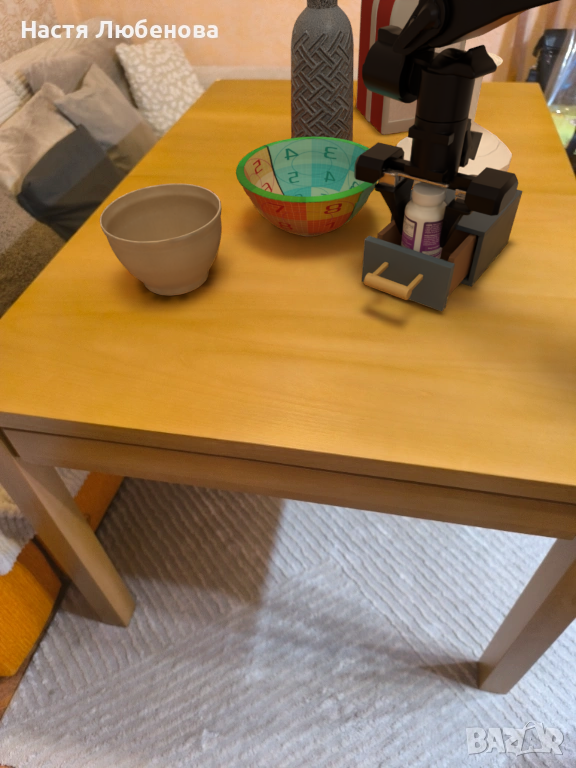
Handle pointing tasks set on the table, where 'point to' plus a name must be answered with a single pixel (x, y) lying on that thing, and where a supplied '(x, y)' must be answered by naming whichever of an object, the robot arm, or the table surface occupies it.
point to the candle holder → (490, 145)
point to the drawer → (417, 267)
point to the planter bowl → (165, 235)
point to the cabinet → (485, 233)
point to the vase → (322, 72)
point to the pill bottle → (424, 219)
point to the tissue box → (378, 9)
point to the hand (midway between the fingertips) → (422, 240)
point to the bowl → (305, 183)
